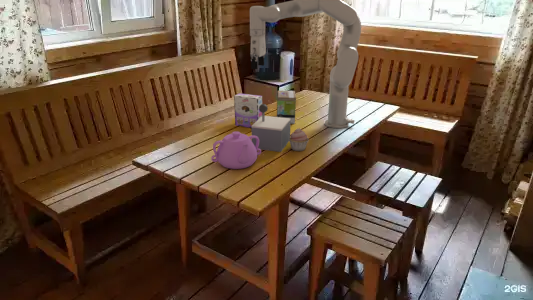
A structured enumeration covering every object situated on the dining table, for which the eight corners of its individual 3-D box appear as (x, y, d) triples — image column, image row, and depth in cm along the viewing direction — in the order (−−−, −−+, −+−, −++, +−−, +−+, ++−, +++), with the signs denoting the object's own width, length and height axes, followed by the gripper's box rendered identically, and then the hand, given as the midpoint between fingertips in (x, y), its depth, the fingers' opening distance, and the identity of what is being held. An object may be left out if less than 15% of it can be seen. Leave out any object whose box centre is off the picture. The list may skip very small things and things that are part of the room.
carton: (290, 139, 201) (290, 120, 197) (281, 151, 187) (281, 131, 183) (262, 136, 205) (262, 117, 201) (251, 148, 191) (251, 127, 187)
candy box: (262, 125, 219) (262, 95, 213) (257, 129, 215) (257, 98, 208) (239, 122, 225) (239, 92, 218) (234, 125, 220) (233, 95, 214)
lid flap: (290, 120, 197) (290, 101, 193) (281, 130, 183) (281, 111, 180) (262, 117, 201) (262, 99, 197) (251, 127, 187) (251, 108, 184)
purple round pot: (221, 180, 161) (220, 147, 155) (206, 159, 179) (204, 129, 174) (273, 171, 169) (273, 139, 163) (253, 151, 187) (253, 122, 182)
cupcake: (305, 154, 185) (306, 132, 181) (285, 151, 188) (286, 130, 184) (310, 146, 193) (311, 126, 189) (291, 143, 196) (292, 123, 192)
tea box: (295, 124, 222) (296, 97, 217) (276, 123, 222) (277, 97, 217) (294, 115, 236) (295, 90, 230) (276, 115, 236) (277, 89, 231)
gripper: (258, 35, 196) (258, 71, 203) (270, 30, 211) (270, 64, 218) (243, 34, 199) (244, 69, 205) (256, 30, 214) (257, 63, 220)
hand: (257, 67), depth 212 cm, fingers open, 9 cm apart
